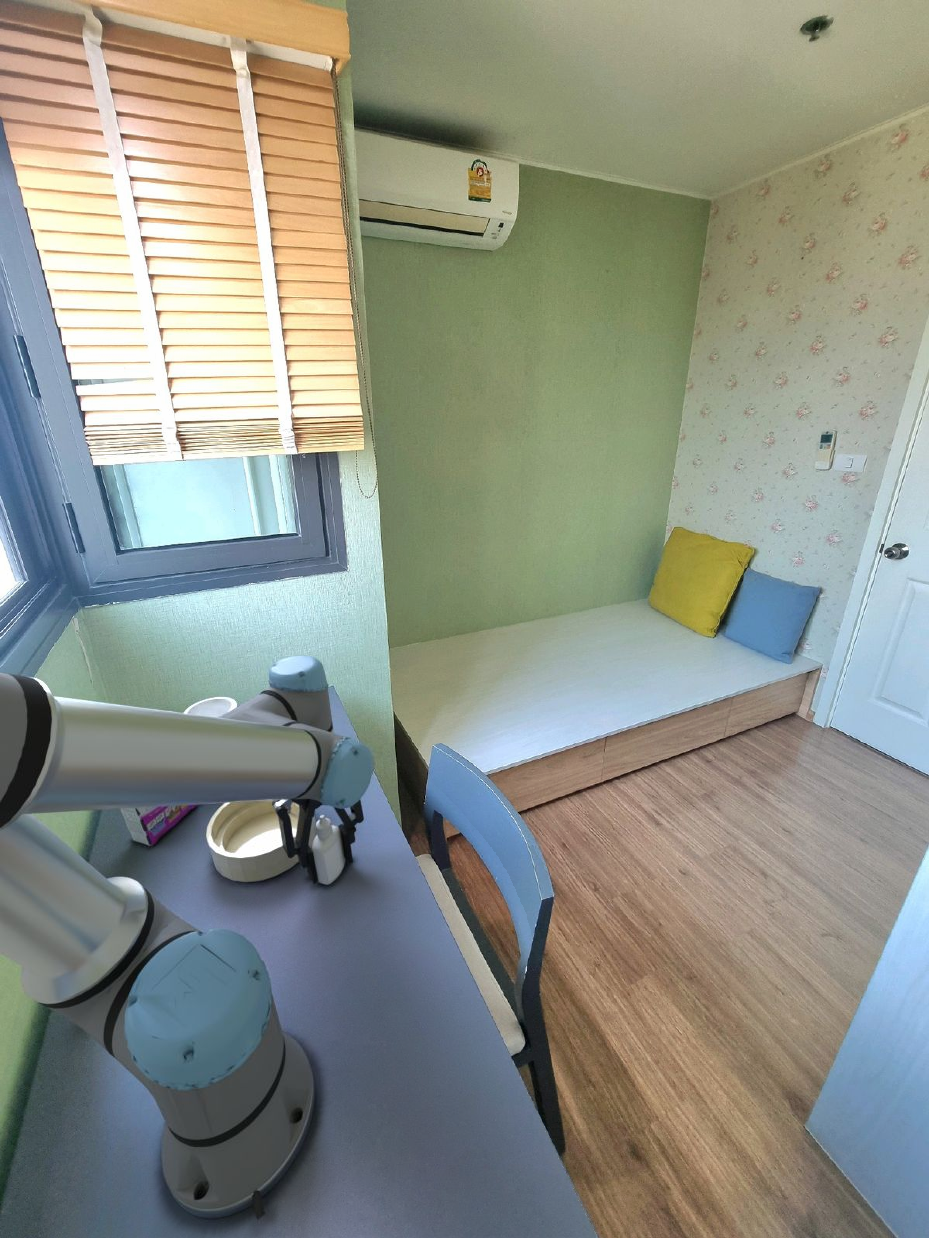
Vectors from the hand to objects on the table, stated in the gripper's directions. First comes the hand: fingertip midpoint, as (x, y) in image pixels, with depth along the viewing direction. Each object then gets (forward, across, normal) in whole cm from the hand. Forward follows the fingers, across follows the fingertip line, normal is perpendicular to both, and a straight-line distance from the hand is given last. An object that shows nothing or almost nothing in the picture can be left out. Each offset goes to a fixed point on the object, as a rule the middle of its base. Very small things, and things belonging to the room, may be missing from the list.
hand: (330, 867), depth 86 cm
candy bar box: (+1, +21, -30) cm, 36 cm away
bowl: (+1, +7, -13) cm, 15 cm away
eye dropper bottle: (+1, 0, 0) cm, 1 cm away
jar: (+1, +8, -40) cm, 41 cm away
